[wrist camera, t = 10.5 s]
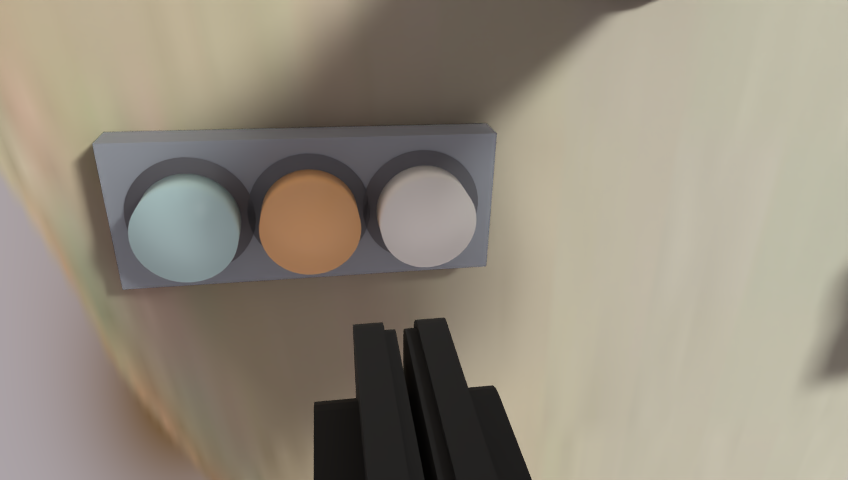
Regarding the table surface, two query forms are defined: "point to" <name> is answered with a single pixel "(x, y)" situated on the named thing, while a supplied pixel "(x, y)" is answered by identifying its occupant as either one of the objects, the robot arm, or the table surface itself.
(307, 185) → the orange button
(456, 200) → the cream button
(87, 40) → the table surface
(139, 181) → the button panel
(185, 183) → the teal button
